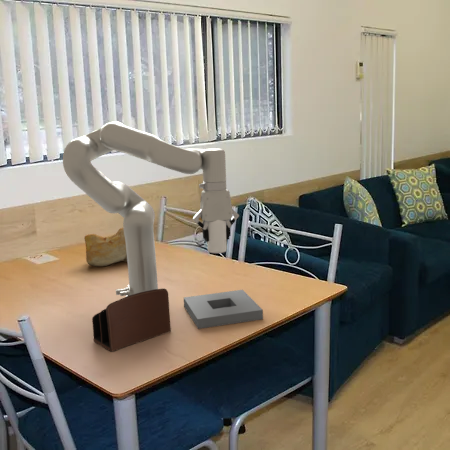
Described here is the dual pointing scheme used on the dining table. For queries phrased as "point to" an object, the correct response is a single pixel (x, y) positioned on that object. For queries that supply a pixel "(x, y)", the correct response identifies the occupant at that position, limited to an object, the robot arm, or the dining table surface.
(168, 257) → the dining table surface
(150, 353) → the dining table surface
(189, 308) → the socket block
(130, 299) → the letter holder
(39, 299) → the dining table surface
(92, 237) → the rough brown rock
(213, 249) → the can
